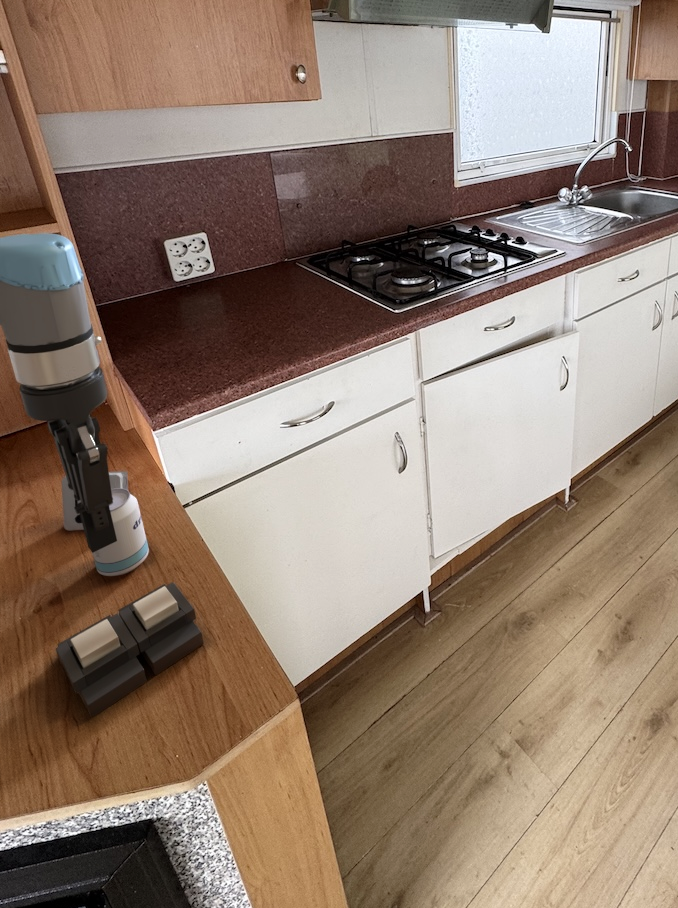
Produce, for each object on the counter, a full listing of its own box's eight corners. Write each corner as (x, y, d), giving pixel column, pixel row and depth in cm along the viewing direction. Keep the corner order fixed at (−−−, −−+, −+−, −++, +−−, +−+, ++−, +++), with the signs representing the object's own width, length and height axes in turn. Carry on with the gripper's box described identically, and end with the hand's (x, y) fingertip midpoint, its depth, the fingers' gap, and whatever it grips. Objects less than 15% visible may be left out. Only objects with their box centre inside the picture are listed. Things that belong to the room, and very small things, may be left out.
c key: (73, 649, 72) (70, 639, 72) (109, 628, 75) (106, 618, 75) (83, 669, 70) (80, 658, 69) (120, 646, 73) (117, 636, 72)
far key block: (117, 623, 80) (111, 601, 79) (170, 593, 85) (165, 572, 83) (151, 678, 73) (145, 655, 71) (207, 641, 78) (202, 619, 76)
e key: (135, 613, 77) (132, 603, 77) (166, 595, 80) (164, 585, 80) (146, 631, 75) (144, 621, 74) (179, 611, 78) (176, 601, 77)
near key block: (56, 659, 75) (49, 636, 73) (116, 624, 80) (110, 602, 78) (87, 721, 68) (79, 697, 66) (151, 679, 72) (145, 655, 71)
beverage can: (150, 570, 89) (135, 506, 85) (96, 588, 85) (78, 522, 81) (149, 541, 94) (135, 480, 90) (99, 557, 91) (81, 494, 87)
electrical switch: (63, 532, 96) (54, 482, 94) (82, 513, 101) (73, 465, 99) (122, 529, 97) (114, 480, 95) (138, 511, 102) (131, 464, 100)
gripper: (120, 382, 63) (156, 553, 71) (81, 347, 71) (117, 505, 79) (36, 407, 57) (85, 590, 65) (3, 366, 65) (50, 534, 73)
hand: (102, 543), depth 72 cm, fingers closed
